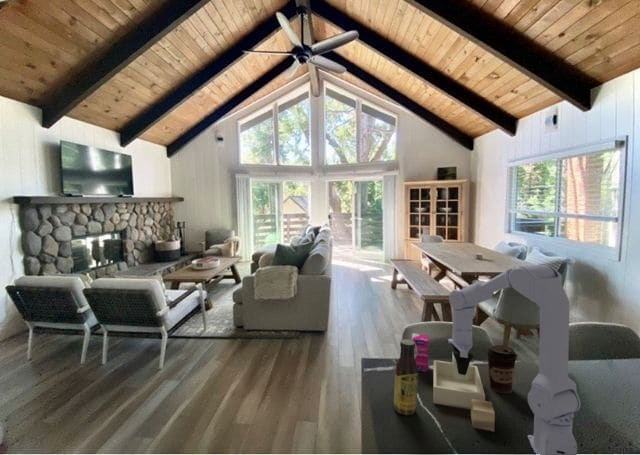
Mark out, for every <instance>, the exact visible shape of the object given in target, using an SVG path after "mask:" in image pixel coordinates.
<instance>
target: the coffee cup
mask: <svg viewBox="0 0 640 455" xmlns="http://www.w3.org/2000/svg"><path fill="white" fill-rule="evenodd" d="M486 354H487V362H488V363H487V364H488V377H489V378H488V379H489V380H488V381H489V388H490V389H491V390H492V391H493V392H497V393H501V394H511V393H512V392H513V379H514V376H515V364H516V360H517V357H518V355H517V354H516V352H515V349H514V348H512V347H510V346H507V345H501V344H495V345H492V346H490V347H489V349H487V352H486Z"/></svg>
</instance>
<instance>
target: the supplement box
mask: <svg viewBox="0 0 640 455" xmlns="http://www.w3.org/2000/svg"><path fill="white" fill-rule="evenodd" d="M411 340H412V341H414V342H415V349H414V359H415V361H416V365H417V371H418V372H419V371H420V372H425V373H428V372H429V342H430V341H429V335H428V334H422V333H414V332H413V333H412V334H411Z"/></svg>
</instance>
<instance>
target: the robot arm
mask: <svg viewBox="0 0 640 455" xmlns="http://www.w3.org/2000/svg"><path fill="white" fill-rule="evenodd" d="M562 283H563V275H562V274H561V273H560V272H559V271H558V270H557V269H555V267H553V266H552V265H550V264H547V263H540V264H534V265H524V266H521V265H517V266H516V265H515V266H514V267H513V268H508V269H506V270H505V271H503V272H502V273H499V274H498V275H496V276H494V277H492V278H491V279H488V281H485V280H479V279H475V280H473V281H472V282H471V284H470V285H464V286H462V287H461V290H457V289H455V290H452V291H451V292H449V295H448V301H449V304H450V306H451V307H452V334H451V336H452V338H448V339H447V340H448V341H447V342H448V343H449V344H451V346H452V347H453V350H452V353H453V355H454V357H455V359H456V362H457V369H458V373H459V374H461V375H466V373H467V369H468V366H469V365H470V363H471V361H472V359H473V358H474V354H473V353H469V351H470V350H471V348H472V347H473V346H474V345H473V344H474V343H473V323H474V322H473V321H474V320H473V318H474V317H473V316H474V313H475V309H476V307H477V306H478V305H479V304H481V303H483V302H486V301H489V300H491V299H492V297H493V294H494V293H495V292H498V291H501V290H504V289H507V288H513V289H514V290H515V291H516V292H518V293H519V294H521V295H523V296H524V297H526V298H527V299H529V300H530V301H532V302H534V303H535V304H536V305H537V307H539V345H538V346H539V352H538V353H539V354H538V357H539V359H538V360H539V361H538V362H539V363H538V373H537V375H536V376H535V377H534V379H533V380H532V382H531V389H530V391H529V392H528V394H527V404H528V405H529V408H530V410H531V411H532V414H534V419H533V435H531V434H528V435H527V438H528V441H529V443H530V446H531V448H533V449H532V450H534V451H533V453H534V452H535V453H536V454H537V453H538V454H540V455H578V444H577V441H576V439H575V436H574V434H573V419H574V415H575V413H576V412H577V411H579V410H580V409H581V399H580V396H579V394H578V391H577V384H576V382H574V381H573V380H572V379H571V378H569V350H570V349H569V348H570V347H569V346H570V343H569V342H570V300H569V298H568V295H567V292H566V291H565V289H564V286H563V284H562ZM535 453H534V454H535Z"/></svg>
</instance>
